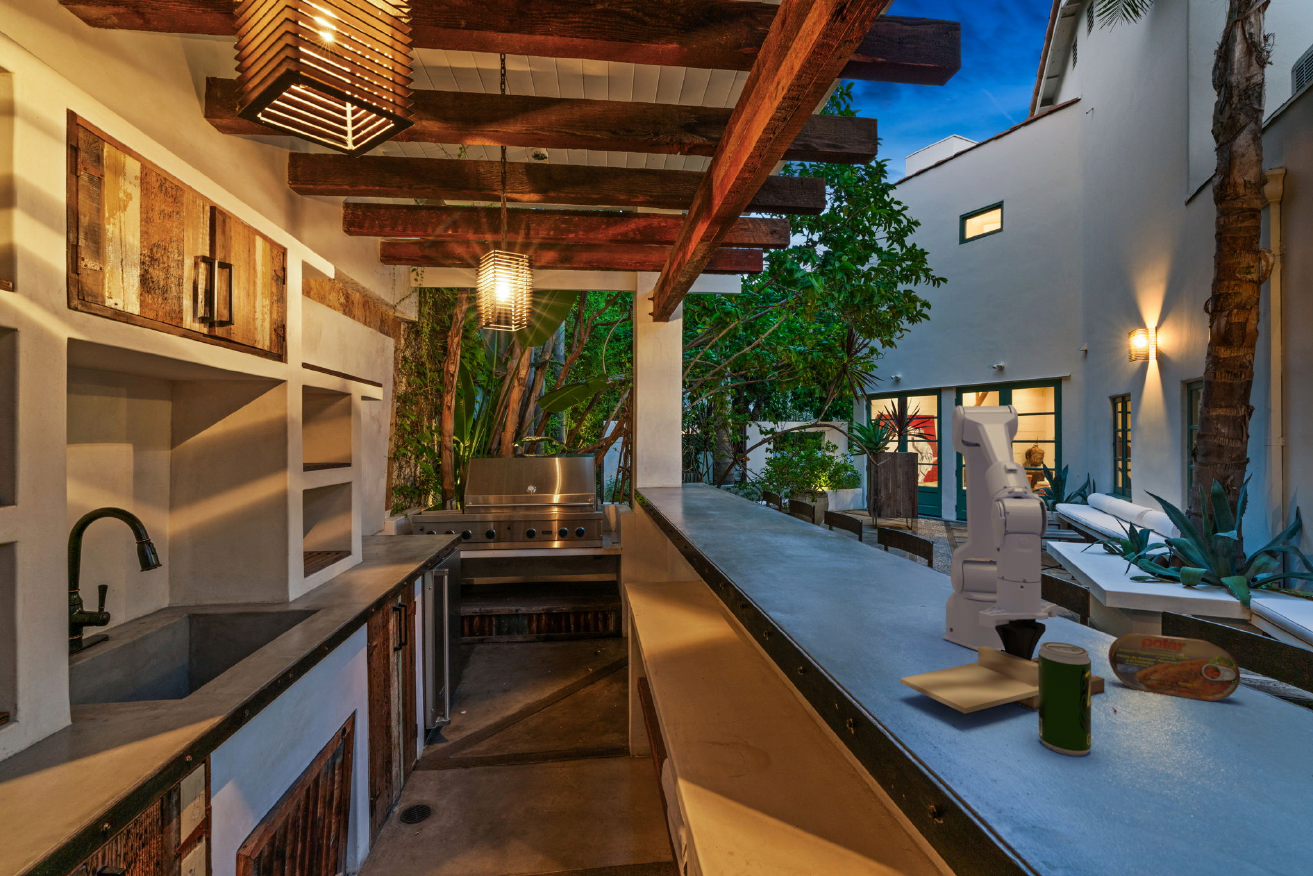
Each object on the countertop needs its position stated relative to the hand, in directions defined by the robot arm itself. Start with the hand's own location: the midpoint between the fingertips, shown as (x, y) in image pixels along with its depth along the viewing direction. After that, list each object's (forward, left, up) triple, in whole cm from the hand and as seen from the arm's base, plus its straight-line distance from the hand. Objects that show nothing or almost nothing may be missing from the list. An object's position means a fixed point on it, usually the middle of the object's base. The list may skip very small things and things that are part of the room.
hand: (1018, 669), depth 91 cm
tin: (+9, +21, -4) cm, 23 cm away
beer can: (+13, -10, -4) cm, 17 cm away
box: (0, +4, -3) cm, 5 cm away
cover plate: (0, -9, -1) cm, 10 cm away
